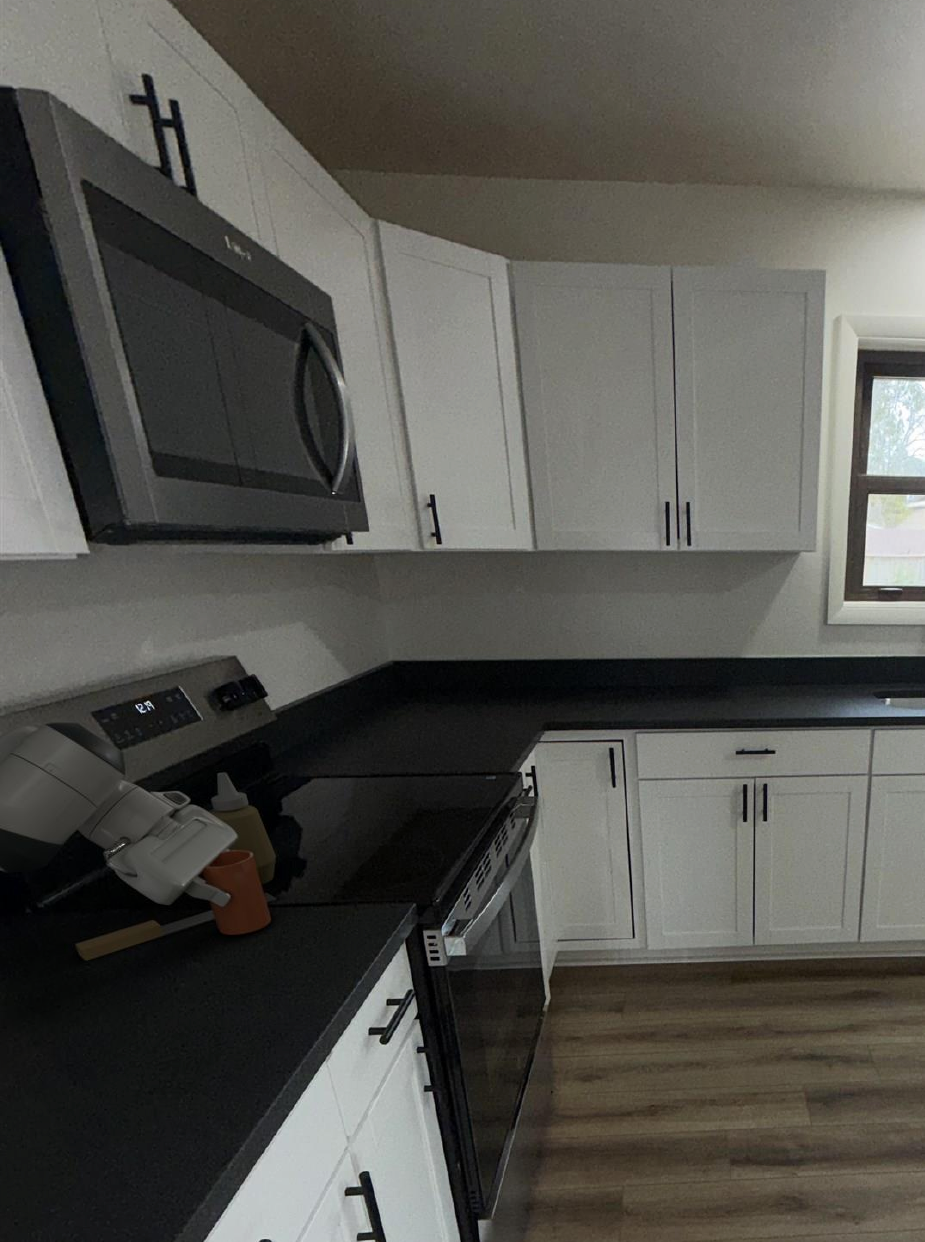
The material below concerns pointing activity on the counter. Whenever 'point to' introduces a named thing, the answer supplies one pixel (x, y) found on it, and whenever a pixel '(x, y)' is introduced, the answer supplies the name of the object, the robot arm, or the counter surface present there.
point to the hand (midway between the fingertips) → (239, 889)
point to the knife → (140, 934)
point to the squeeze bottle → (244, 826)
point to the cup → (238, 893)
